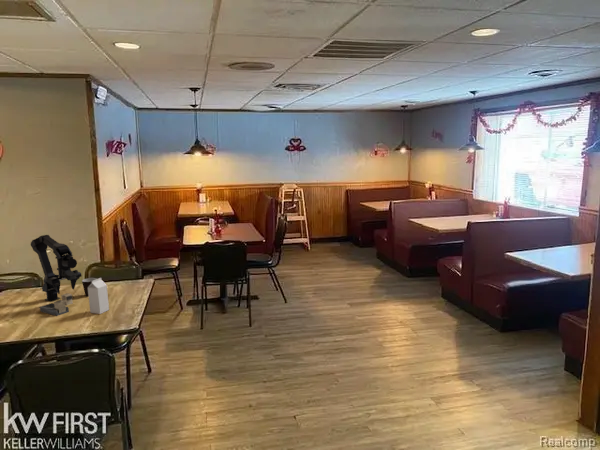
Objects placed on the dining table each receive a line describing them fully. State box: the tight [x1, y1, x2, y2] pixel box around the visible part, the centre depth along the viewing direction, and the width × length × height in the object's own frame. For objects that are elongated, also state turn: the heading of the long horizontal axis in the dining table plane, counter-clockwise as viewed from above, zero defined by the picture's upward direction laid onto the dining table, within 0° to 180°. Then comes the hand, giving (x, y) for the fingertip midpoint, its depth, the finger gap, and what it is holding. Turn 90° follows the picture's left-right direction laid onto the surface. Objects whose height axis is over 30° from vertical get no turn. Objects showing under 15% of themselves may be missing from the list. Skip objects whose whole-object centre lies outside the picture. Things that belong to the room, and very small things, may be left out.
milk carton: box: [88, 277, 110, 315], centre depth 260 cm, size 7×7×19 cm
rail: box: [39, 299, 70, 317], centre depth 263 cm, size 16×7×7 cm, turn 60°
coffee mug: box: [81, 277, 97, 298], centre depth 294 cm, size 12×9×10 cm
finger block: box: [61, 292, 74, 306], centre depth 276 cm, size 5×4×6 cm
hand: (66, 291), depth 276 cm, fingers open, 9 cm apart
